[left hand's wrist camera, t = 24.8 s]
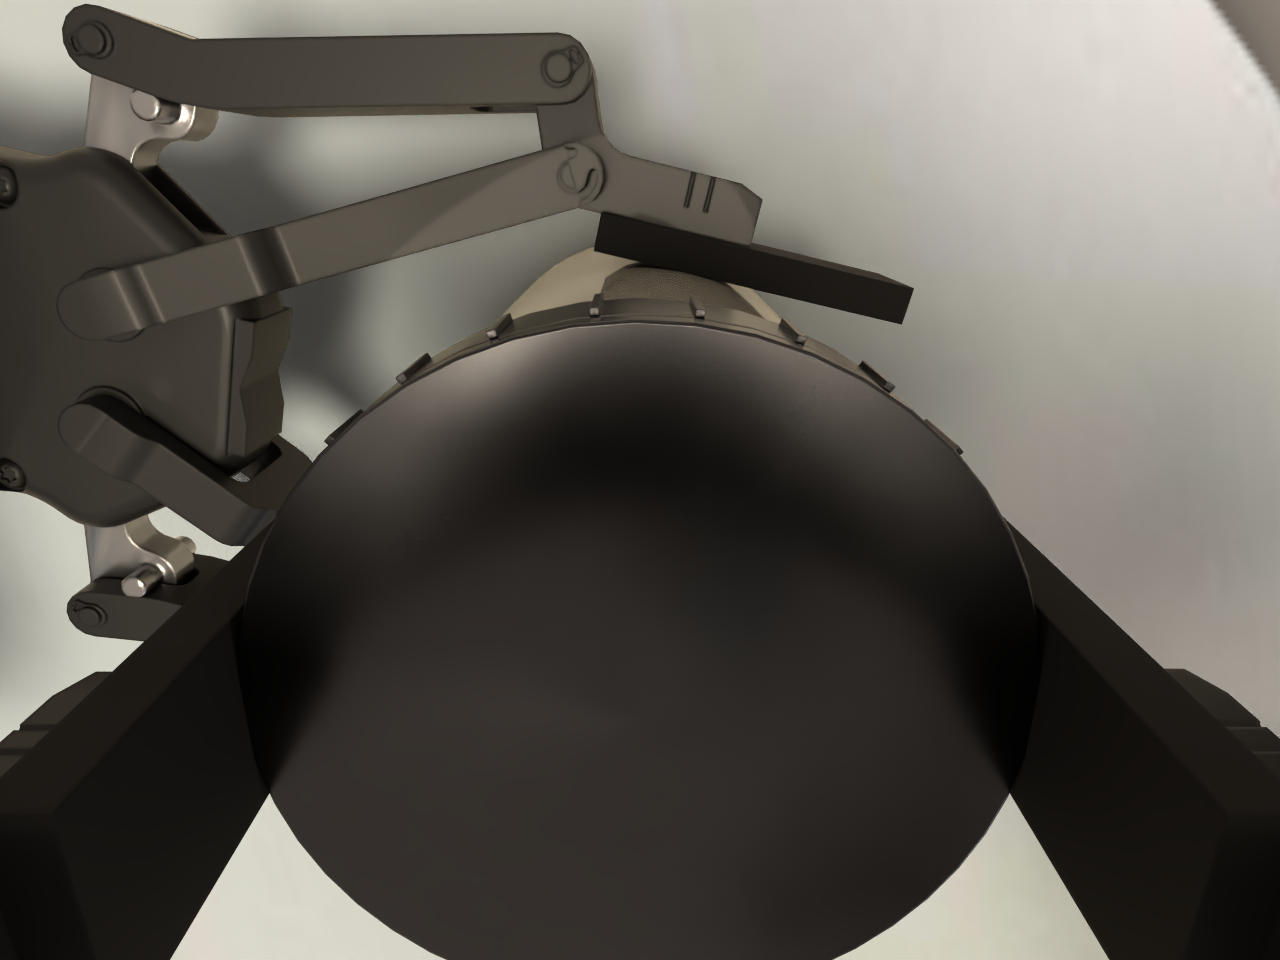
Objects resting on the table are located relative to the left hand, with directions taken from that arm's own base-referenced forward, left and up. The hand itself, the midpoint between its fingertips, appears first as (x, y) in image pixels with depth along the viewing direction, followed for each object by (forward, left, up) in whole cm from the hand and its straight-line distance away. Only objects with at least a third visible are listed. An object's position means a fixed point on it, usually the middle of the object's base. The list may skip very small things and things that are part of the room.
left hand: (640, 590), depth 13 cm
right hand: (-4, -2, -6) cm, 8 cm away
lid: (0, 0, +3) cm, 3 cm away
